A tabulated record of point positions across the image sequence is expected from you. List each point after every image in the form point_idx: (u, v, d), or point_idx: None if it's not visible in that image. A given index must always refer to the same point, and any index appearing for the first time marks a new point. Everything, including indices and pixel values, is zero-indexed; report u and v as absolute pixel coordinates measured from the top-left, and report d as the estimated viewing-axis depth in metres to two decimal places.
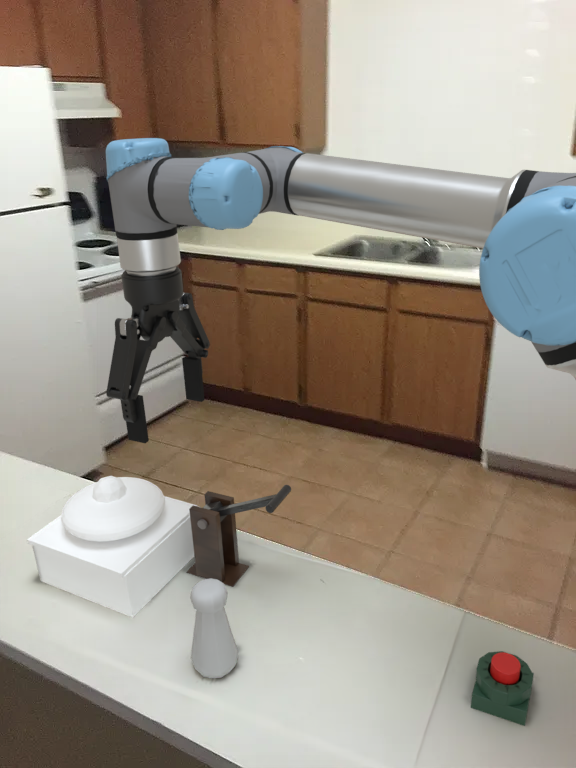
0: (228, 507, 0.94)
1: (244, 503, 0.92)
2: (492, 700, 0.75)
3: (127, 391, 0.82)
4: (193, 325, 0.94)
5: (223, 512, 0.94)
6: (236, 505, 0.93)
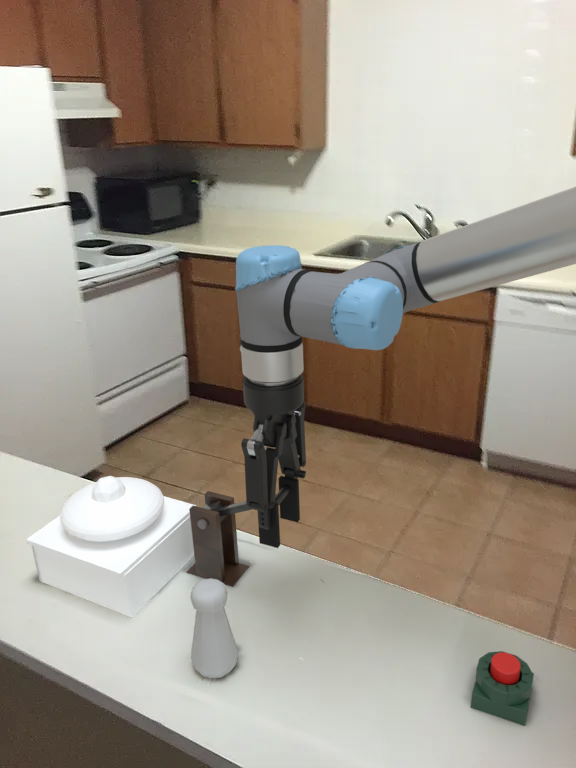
0: (228, 507, 0.94)
1: (244, 503, 0.92)
2: (492, 700, 0.75)
3: (266, 502, 0.83)
4: (298, 436, 0.90)
5: (223, 512, 0.94)
6: (236, 505, 0.93)
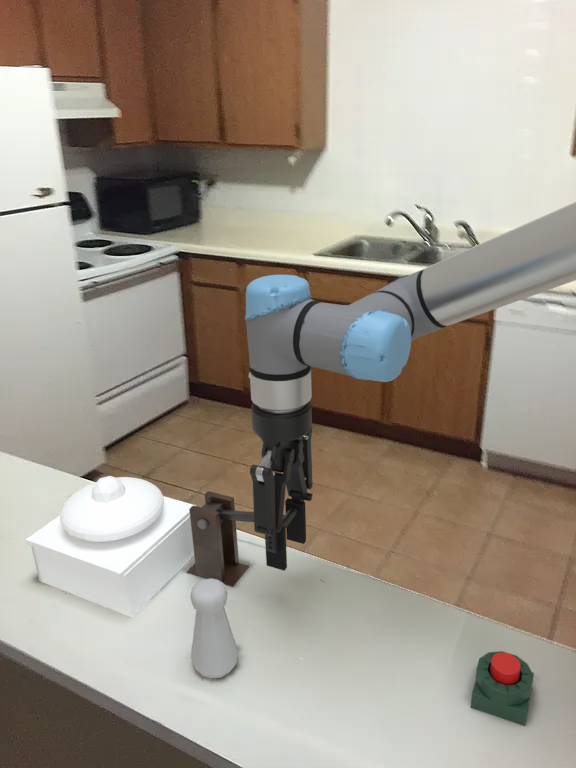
0: (231, 512, 0.94)
1: (249, 514, 0.92)
2: (492, 700, 0.75)
3: (274, 527, 0.84)
4: (305, 460, 0.91)
5: (225, 516, 0.94)
6: (240, 514, 0.93)
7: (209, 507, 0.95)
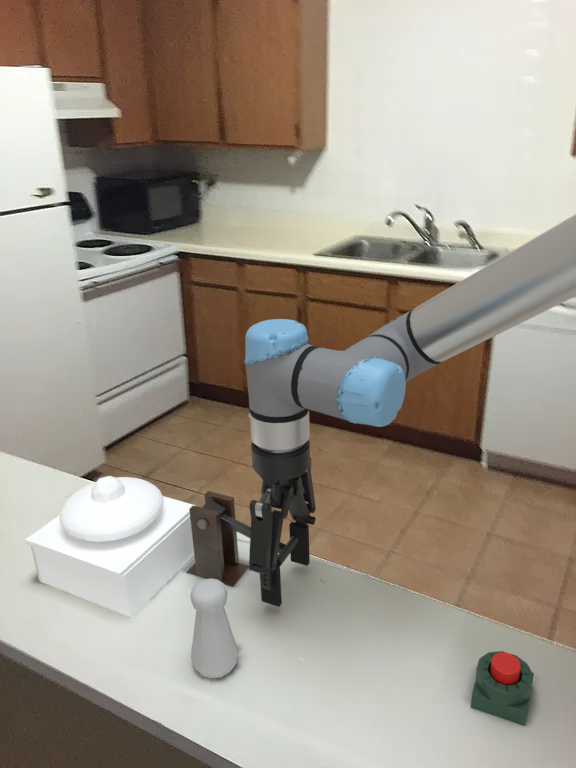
0: (232, 521, 0.94)
1: None
2: (492, 700, 0.75)
3: (269, 565, 0.85)
4: (306, 488, 0.94)
5: (225, 522, 0.94)
6: (242, 527, 0.94)
7: (212, 508, 0.95)
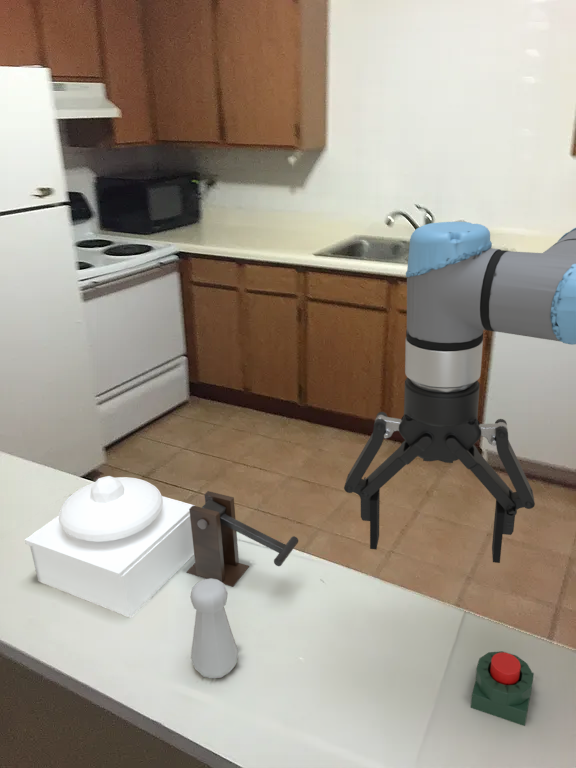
0: (232, 521, 0.94)
1: (251, 531, 0.93)
2: (492, 700, 0.75)
3: (353, 486, 0.75)
4: None
5: (225, 522, 0.94)
6: (242, 527, 0.94)
7: (212, 508, 0.95)
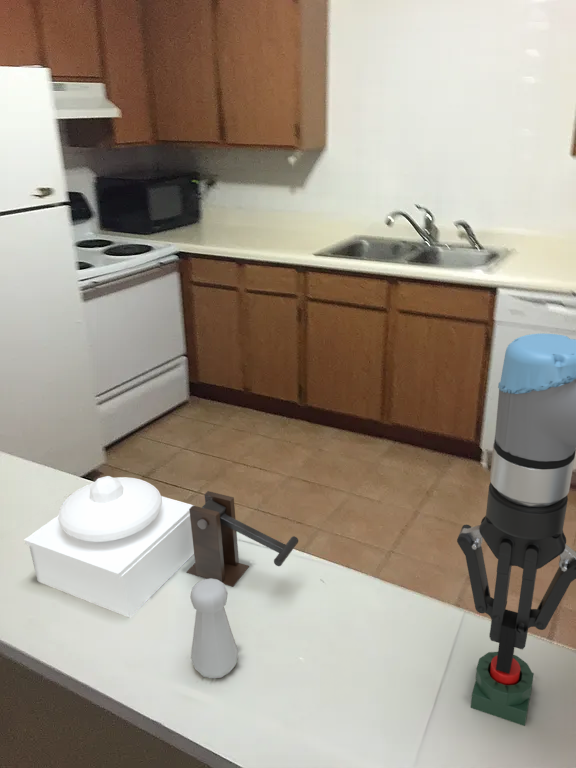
0: (232, 521, 0.94)
1: (251, 531, 0.93)
2: (492, 700, 0.75)
3: (483, 605, 0.73)
4: (550, 591, 0.69)
5: (225, 522, 0.94)
6: (242, 527, 0.94)
7: (212, 508, 0.95)
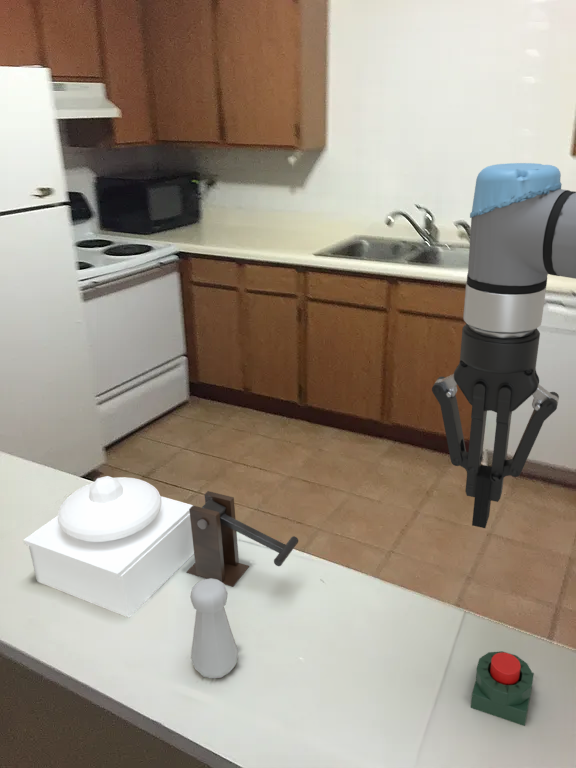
0: (232, 521, 0.94)
1: (251, 531, 0.93)
2: (492, 700, 0.75)
3: (458, 457, 0.73)
4: (524, 434, 0.70)
5: (225, 522, 0.94)
6: (242, 527, 0.94)
7: (212, 508, 0.95)
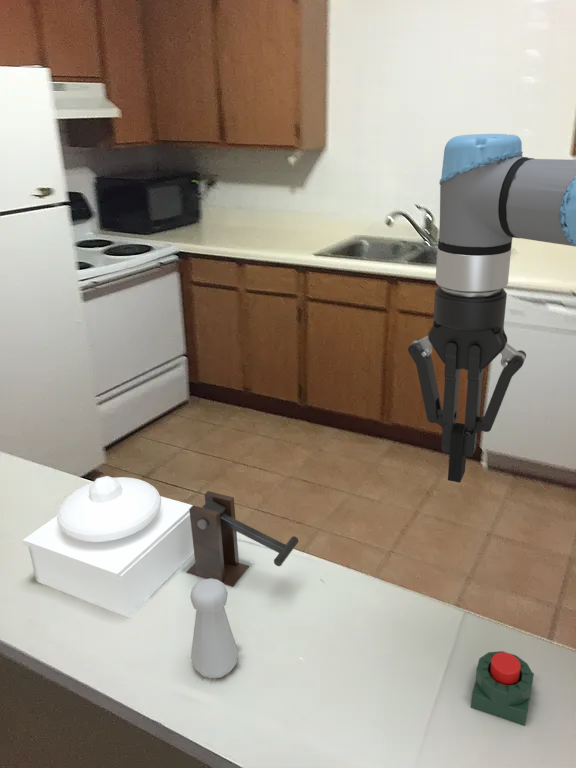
0: (232, 521, 0.94)
1: (251, 531, 0.93)
2: (492, 700, 0.75)
3: (433, 414, 0.78)
4: (494, 391, 0.74)
5: (225, 522, 0.94)
6: (242, 527, 0.94)
7: (212, 508, 0.95)
